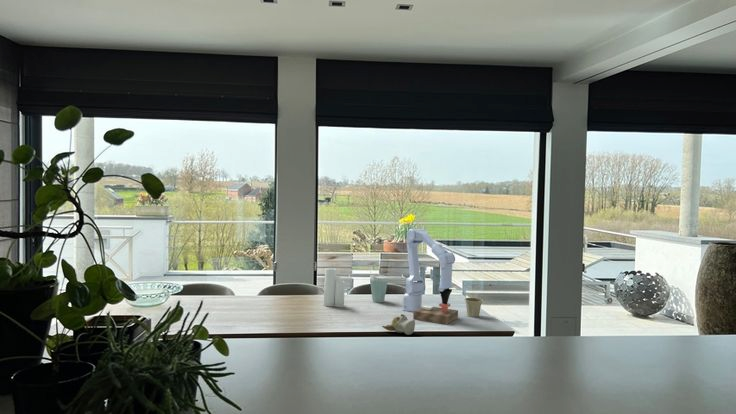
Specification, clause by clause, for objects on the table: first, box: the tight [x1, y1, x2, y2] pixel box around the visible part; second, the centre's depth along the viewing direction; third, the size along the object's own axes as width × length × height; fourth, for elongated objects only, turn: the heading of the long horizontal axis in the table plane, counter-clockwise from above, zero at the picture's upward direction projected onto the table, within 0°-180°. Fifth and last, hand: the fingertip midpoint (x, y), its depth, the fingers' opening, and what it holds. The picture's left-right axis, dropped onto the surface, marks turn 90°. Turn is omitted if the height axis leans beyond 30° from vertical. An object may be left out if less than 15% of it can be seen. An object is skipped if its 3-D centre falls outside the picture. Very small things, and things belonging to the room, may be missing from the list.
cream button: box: [421, 305, 435, 310], centre depth 283 cm, size 4×4×5 cm
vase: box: [323, 267, 346, 308], centre depth 302 cm, size 11×7×20 cm, turn 86°
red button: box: [438, 302, 451, 313], centre depth 279 cm, size 4×4×5 cm
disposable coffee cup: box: [369, 274, 389, 304], centre depth 317 cm, size 11×11×15 cm
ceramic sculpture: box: [381, 313, 416, 336], centre depth 252 cm, size 11×9×15 cm
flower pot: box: [464, 297, 484, 318], centre depth 291 cm, size 9×9×9 cm
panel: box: [412, 306, 459, 325], centre depth 281 cm, size 18×16×4 cm
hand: (444, 303), depth 279 cm, fingers closed
